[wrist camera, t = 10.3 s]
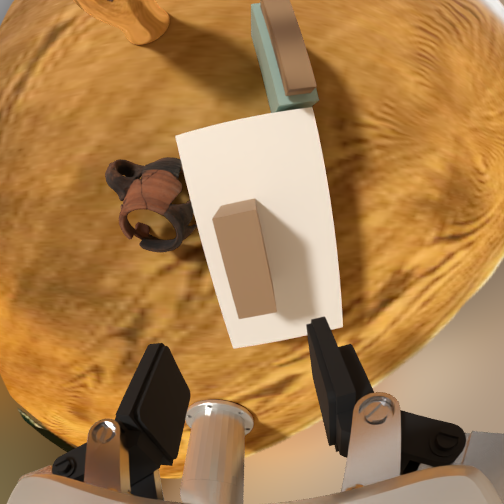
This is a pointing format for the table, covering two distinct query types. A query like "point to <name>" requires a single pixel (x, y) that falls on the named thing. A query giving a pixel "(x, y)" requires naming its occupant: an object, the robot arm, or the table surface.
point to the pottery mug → (151, 199)
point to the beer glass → (130, 17)
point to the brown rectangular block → (288, 47)
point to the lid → (265, 223)
